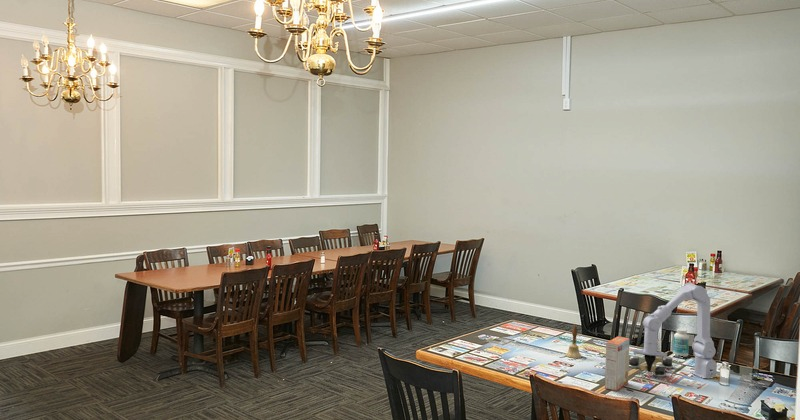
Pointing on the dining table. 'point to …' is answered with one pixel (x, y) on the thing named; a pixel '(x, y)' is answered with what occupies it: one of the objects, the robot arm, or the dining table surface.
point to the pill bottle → (681, 343)
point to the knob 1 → (634, 360)
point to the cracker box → (617, 363)
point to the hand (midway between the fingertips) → (649, 371)
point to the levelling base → (652, 371)
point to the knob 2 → (664, 361)
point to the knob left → (655, 368)
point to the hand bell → (573, 346)
